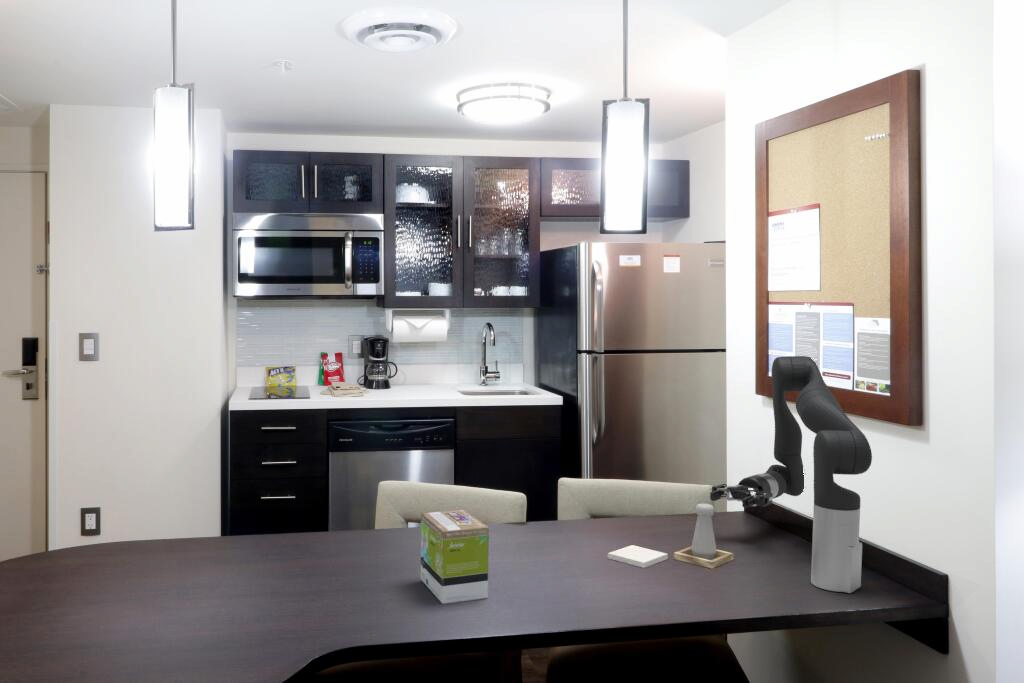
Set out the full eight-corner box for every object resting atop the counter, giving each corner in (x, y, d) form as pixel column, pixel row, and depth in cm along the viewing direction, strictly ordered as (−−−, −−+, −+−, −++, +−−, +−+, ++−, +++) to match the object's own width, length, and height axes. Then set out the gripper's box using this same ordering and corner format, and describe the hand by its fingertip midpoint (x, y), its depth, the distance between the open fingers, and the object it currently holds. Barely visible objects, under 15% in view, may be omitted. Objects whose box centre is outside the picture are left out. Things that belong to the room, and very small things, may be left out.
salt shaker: (714, 556, 194) (716, 502, 193) (718, 563, 188) (719, 507, 188) (689, 555, 194) (691, 501, 194) (692, 562, 189) (694, 506, 188)
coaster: (667, 558, 191) (667, 553, 191) (643, 568, 184) (643, 562, 183) (632, 549, 198) (632, 544, 198) (607, 558, 190) (607, 553, 190)
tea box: (418, 581, 171) (420, 511, 171) (463, 576, 175) (465, 507, 175) (441, 605, 157) (442, 529, 157) (489, 599, 161) (491, 525, 161)
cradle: (733, 559, 191) (733, 553, 191) (712, 568, 184) (712, 562, 184) (695, 550, 198) (695, 544, 198) (673, 559, 191) (673, 552, 191)
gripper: (733, 470, 216) (702, 479, 204) (785, 479, 206) (755, 489, 194) (732, 498, 216) (701, 509, 204) (783, 509, 207) (754, 520, 195)
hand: (727, 499), depth 199 cm, fingers open, 8 cm apart
